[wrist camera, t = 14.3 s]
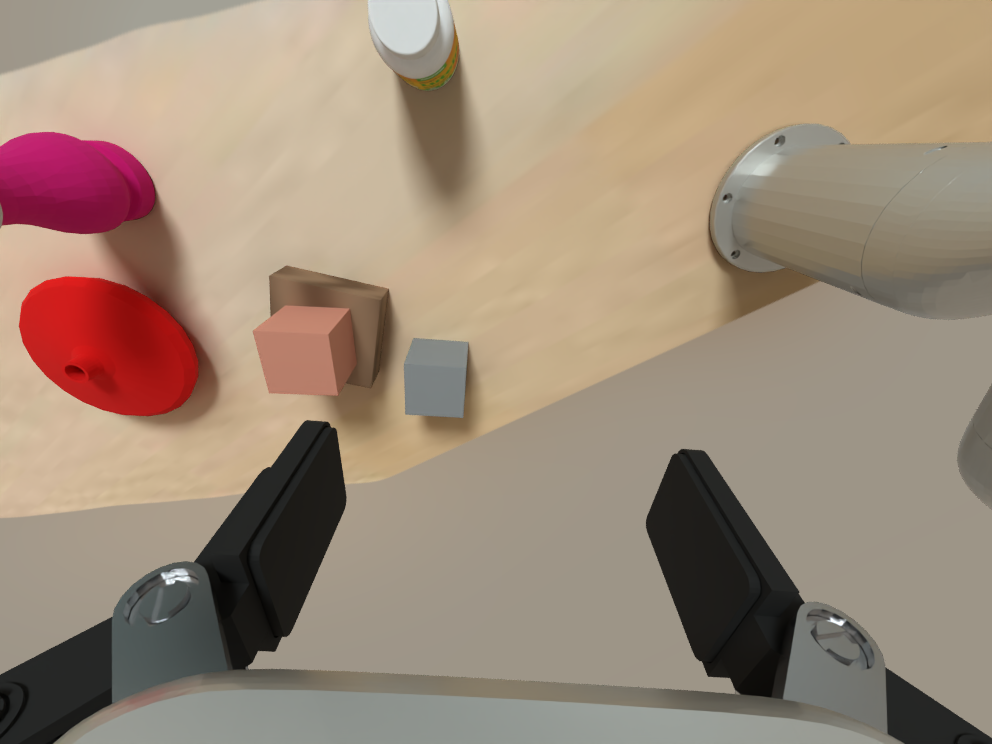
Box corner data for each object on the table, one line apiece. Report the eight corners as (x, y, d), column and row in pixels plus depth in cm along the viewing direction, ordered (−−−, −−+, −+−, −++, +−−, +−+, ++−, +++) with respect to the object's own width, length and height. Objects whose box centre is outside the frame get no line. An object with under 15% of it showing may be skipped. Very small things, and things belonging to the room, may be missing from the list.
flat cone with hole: (242, 380, 45) (204, 416, 39) (128, 415, 47) (75, 455, 41) (142, 246, 38) (75, 265, 31) (11, 295, 40) (-76, 322, 33)
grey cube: (468, 341, 43) (466, 368, 38) (465, 387, 46) (463, 417, 41) (413, 337, 43) (404, 363, 38) (414, 384, 46) (405, 414, 41)
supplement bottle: (430, 108, 33) (411, 93, 24) (376, 51, 31) (335, 13, 22) (473, 48, 31) (469, 9, 22) (419, -16, 29) (392, -85, 20)
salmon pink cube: (349, 308, 37) (328, 334, 32) (357, 363, 40) (338, 395, 35) (285, 305, 37) (252, 330, 32) (297, 361, 40) (269, 393, 35)
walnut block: (389, 287, 40) (380, 300, 37) (379, 369, 45) (370, 388, 42) (288, 264, 39) (269, 275, 36) (289, 351, 44) (272, 369, 40)
